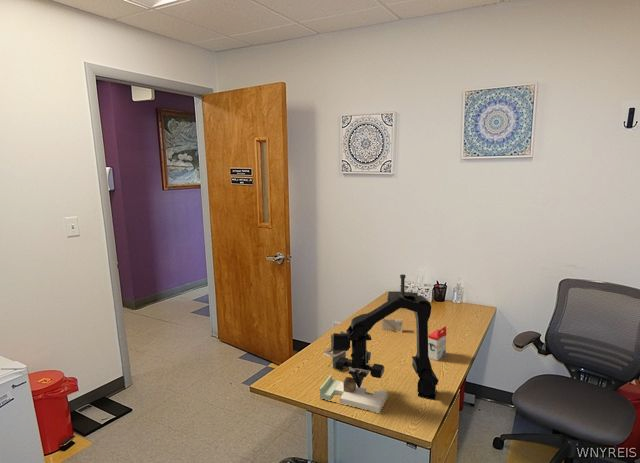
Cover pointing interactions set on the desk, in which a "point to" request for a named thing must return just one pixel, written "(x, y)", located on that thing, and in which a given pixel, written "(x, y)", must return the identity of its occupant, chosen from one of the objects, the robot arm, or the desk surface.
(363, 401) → the board
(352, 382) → the walnut block
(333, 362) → the architectural model
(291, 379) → the desk surface
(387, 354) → the desk surface
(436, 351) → the ink box
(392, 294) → the dark post stand
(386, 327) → the model
